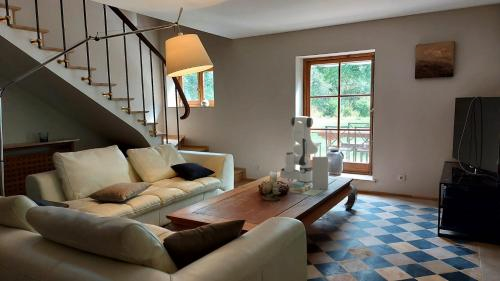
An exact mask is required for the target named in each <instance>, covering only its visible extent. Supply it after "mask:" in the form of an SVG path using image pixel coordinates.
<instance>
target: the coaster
mask: <svg viewBox="0 0 500 281" xmlns="http://www.w3.org/2000/svg"><path fill="white" fill-rule="evenodd" d="M292 184H293V185H292V187H299V188H302V187H304V186H305V185H306V183H305V182H303V181H297V182H293V183H292Z"/></svg>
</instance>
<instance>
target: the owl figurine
mask: <svg viewBox="0 0 500 281" xmlns="http://www.w3.org/2000/svg"><path fill="white" fill-rule="evenodd" d="M278 185H279V184H278V183H277V182H274V181H273V180H272V179H270V180H267V182H265V184H264V185H263V187H262V192H263V193H264V195H263V196H262V198H261V199H262V200H263V201H267V202H278V201H280V200H281V198H280V197H279V195H280V194H281V191H280V189H279V186H278Z"/></svg>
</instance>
